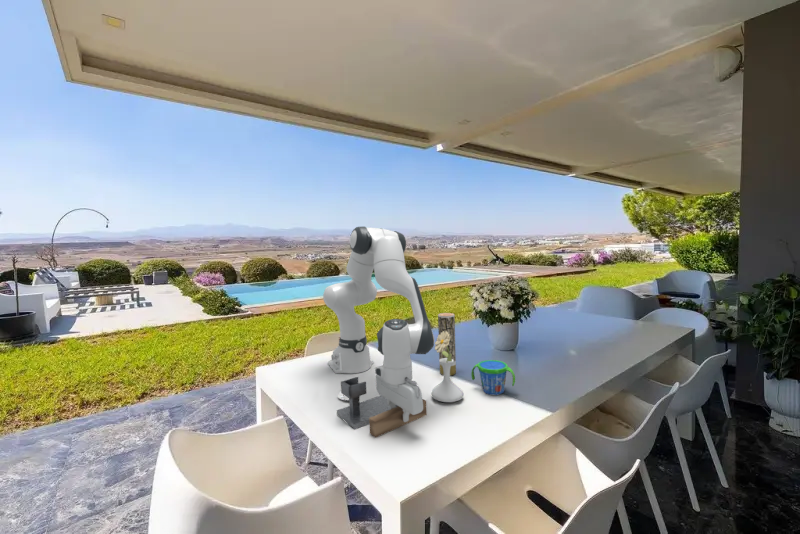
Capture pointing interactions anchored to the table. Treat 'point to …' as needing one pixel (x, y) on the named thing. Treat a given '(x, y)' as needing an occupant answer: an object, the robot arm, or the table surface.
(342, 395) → the pale veined leaf
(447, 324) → the grey wooden cylinder
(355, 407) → the bracket stand
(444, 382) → the flower in vase
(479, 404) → the table surface
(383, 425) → the walnut rail
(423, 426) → the table surface
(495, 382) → the snack cup
